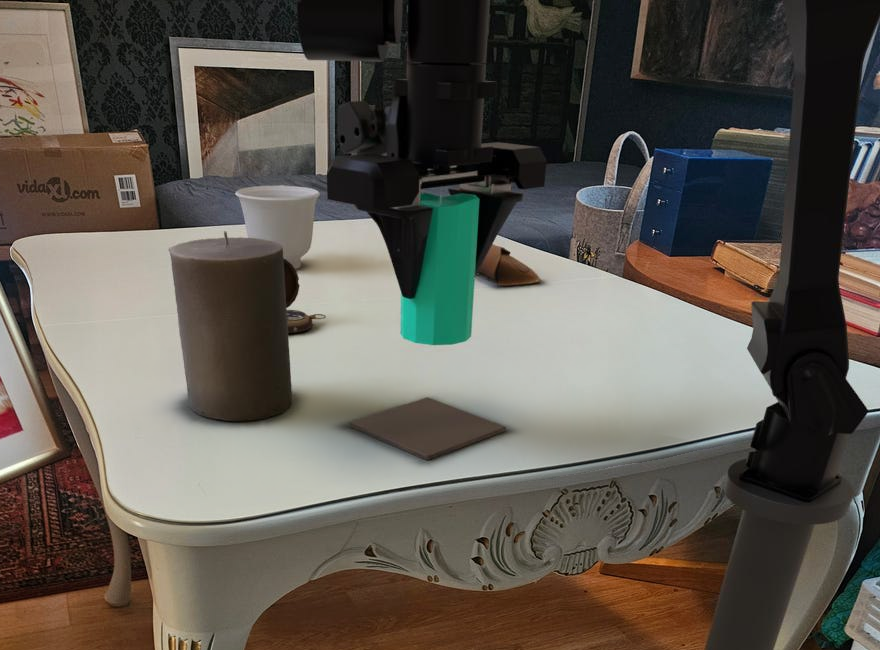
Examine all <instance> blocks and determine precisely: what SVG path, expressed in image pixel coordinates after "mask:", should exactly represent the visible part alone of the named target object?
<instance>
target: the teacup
mask: <svg viewBox="0 0 880 650" xmlns="http://www.w3.org/2000/svg"><path fill="white" fill-rule="evenodd" d="M234 194H235V196H236V197H237V198H238V200H239V202H240V206H241V210H242V214H243V218H244V225H245V230H246V236H247V238H257V239H264V240H269V241H274V242H276V243H278V244H280V245H281V246H282V248H283V258H284V259H286V260H287V261H288V262H290V263H291V264H292V265H293V267H294V268H295V270H297V269H299V268H301V267H302V263H301V258H302V257H303V256H305V255H306V254H308V253H309V251H310V249H311V247H312V241H313V234H314V233H313V232H314V223H315V222H314V219H315V210H316V204H317V200H318V198H319V197H320V195H321V193H320V191H318V190H317V189H314V188H310V187H304V186H297V185H296V186H295V185H294V186H293V185H284V184H283V185H281V184H280V185H257V186H248V187H243V188H240V189H237V190H236V191H235V193H234Z"/></svg>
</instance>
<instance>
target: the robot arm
mask: <svg viewBox="0 0 880 650" xmlns="http://www.w3.org/2000/svg"><path fill="white" fill-rule="evenodd" d="M783 1H784V3H783V4H784V10H785V11H784V15H785V21H786V27H787V33H788V38H789V43H790V48H791V49H790V50H791V53H792V58H793V65H794V77H793V91H792V92H793V93H792V105H791V115H790V117H791V118H790V127H789V128H790V129H789V141H788V153H787V155H788V156H787V167H786V180H785V191H784V192H785V193H784V205H783V218H782V229H781V231H782V232H781V243H780V257H779V269H778V276H777V280H776V283H775V285H774V288H773V290H772V294H771V295H770V298H769V300H768V301H758V300H753V301H751V303H750V305H751V306H750V309H751V311H750V312H751V317H752V333H751V338H750V340H749V343H748V345H747V347H746V349H747V351H748V353H749V355H750V356H751V358H752V360H753V361H754V363H755V365H756V366H757V368H758V370H759V372H760V373H761V375H762V376H763V378H764V380H765V381H766V383H767V386H769V389H770V390H771V394H772V397H775V399H776V400H777V401H776V402H775V403H772V404H771V405H768V406H767V407H766V408H765V411H764V415H763V419H761V420H759V421H757V422H756V424H755V426H754V431H753V434H752V438H751V443H750V449H751V448H752V449H754V451H749V452H747V457H746V459H747V460H746V466H747V467H749V469H747V470H745V471H744V472H742V473H740V477H739V479H740V480H742V481H745V482H748V483H751V484H754V485H756V486H759V487H762V488H765V489H768V490H771V491H774V492H777V493H779V494H782V495H785V496H788V497H791V498H794V499H797V500H799V501H802V502H807V503H810V502H812V501H814V500H815V499H817V498H818V497H820V496H821V495H823V494H825V493H826V492H828V491H829V490H831V489H832V488H834V487H835V486H837V485H838V484H840V483H841V480H842V477H843V476H842V477H840V476H837V475H836V474H838V470H839V467H840V464H841V461H842V459H843V457H844V453H845V450H846V446H847V444H848V441H849V438H850V435H851V434H853V433H855V431H856V429H857V428H858V427H859V425H860V424H861V423H862V421H863V420H864V419H865V418H866V416H867V415H868V413H869V409H868V408H867V406H866V405H865V403H864V402H863V401H862V399H861V398H860V396H859V395H858V394H857V392H856V391H855V390H854V388H853V386H852V385H851V383H850V382H849V381H848V379H847V378H848V377H847V376H848V373H849V369H850V356H849V354H850V353H849V338H848V327H847V320H846V314H845V310H844V309H845V308H844V303H843V298H842V293H841V288H840V281H839V280H840V279H839V278H840V277H839V276H840V270H841V269H840V268H841V261H842V251H843V242H844V234H845V233H844V232H845V224H846V217H847V209H848V208H847V207H848V197H849V191H850V180H851V173H852V163H853V156H854V145H855V137H856V128H857V120H858V111H859V102H860V93H861V86H862V85H861V84H862V76H863V69H864V68H863V67H864V63H865V58H866V55H867V51H868V49H869V47H870V44H871V42H872V39H873V36H874V34H875V32H876V30H877V26H878V24H879V21H880V0H783ZM490 4H491V0H407V28H406V29H407V31H406V32H407V33H406V35H407V36H406V78H396V79H394V85H392V89H391V103H390V105H388V106H385V107H384V108H373V109H372V108H371V106H370V105H369V103H368V102H367V101H366V100H353V101H346V102H344V103H342V104H341V105H339V106H338V108H337V123H336V125H337V126H336V132H337V138H338V143H339V148H340V150H341V152H343V153H344V154H345V155H339V156H335V157H334V158H333V160H332V162H331V163H330V165H329V166H328V169H327V171H326V195H327V196H326V197H327V198H326V199H327V200H329V201H333V202H339V203H344V204H349V205H354V207H355V209H356V210H357V211H362V212H365V213H367V214H368V216H369V217H370V218H371V219H372V220H373V222H374V223H375V224H376V226H377V227H378V229H379V231H380V234H381V236H382V239H383V241H384V243H385V246H386V249H387V252H388V255H389V258H390V262H391V264H392V268H393V271H394V274H395V277H396V281H397V284H398V287H399V290H400V294H401V293H402V296H403V297H404V298H408V299H413V298H415V295H416V291H417V288H418V284H419V280H420V275H421V270H422V265H423V260H424V254H425V249H426V244H427V238H428V234H429V228H430V223H431V218H432V213H433V208H431V207H426V206H421V205H420V194H421V193H422V191H421V190H426V189H434V188H440V187H442V188H443V187H449V186H456V187H451V188H448V189H447V190H448V193H449V196H450V195H456V194H461V193H462V194H472V195H476V196H477V197H478V198H479V216H478V232H477V249H476V265H475V278H476V277H477V275H478V273H479V272H478V271H479V269H480V267H481V265H482V263H483V261H484V259H485V257H486V255H487V253H488V251H489V250H490V248H491V246H492V244H493V245H494V241H495V240H496V238H497V236H498V235H499V233H500V231H501V230H502V228H503V226H504V224H506V221H507V220H508V218H509V216H510V214H511V213H512V211H513V209H514V208H515V206H516V205H517V203H520V202H522V201H523V199H524V194H523V193H520V192H514V191H511V189H512V183H514V184H515V185H516V187H517V189H518V190H531V189H536V188H545V185H546V173H547V166H548V165H547V164H548V160H547V158H546V157H545V155H544V154H543V151H542V150H541V147H540V146H534V145H526V144H525V145H524V144H516V143H507V142H500V141H496V142H485V143H482V138H483V124H484V122H483V121H484V106H485V99H497V90H498V81H492V80H486V72H487V53H488V37H489V23H490V21H489V20H490V7H491V5H490ZM296 15H297V16H296V17H297V29H298V36H299V41H300V47H301V50H302V53H303V56H304V57H305V59H306V60H308V61H327V62H328V61H329V62H330V61H334V62H336V61H337V62H375V63H376V62H377V63H380V62H381V63H382V62H384V61H385V60H386V56H387V52H388V47H389V46H399V45H400V42H401V38H402V29H403V0H296ZM348 154H350V155H348ZM457 185H459V187H457Z"/></svg>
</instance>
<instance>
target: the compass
mask: <svg viewBox="0 0 880 650" xmlns="http://www.w3.org/2000/svg"><path fill="white" fill-rule="evenodd" d="M283 261H284V276H285V292H286V310H287V325H288V334H295V333H296V334H297V333H301V332H305V331H308V330H309V329H310V328H312V326H313V320H323V319H326V318H327V316H326V315H325V314H323V313H313V314H310V315H308V314H306V312H305V311H302V310H299V309H288V308H289V307H291V306H292V305H293V303H294V302H295V301H296V299H297V297H298V295H299V292H300V283H299V280H300V278H299V275H298V271H297V269H295V268H294V267H293V265H292V264H291V263H290V262H288V261H287V260H286V259H284V258H283ZM317 316H320V317H317ZM321 316H322V317H321Z"/></svg>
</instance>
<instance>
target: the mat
mask: <svg viewBox="0 0 880 650" xmlns="http://www.w3.org/2000/svg"><path fill="white" fill-rule="evenodd" d="M348 427H349V428H352V429H354V430H356V431H359V432H360V433H364V434H365V435H368V436H370V437H372V438H374V439H377V440H380V441H382V442H384V443H386V444H388V445H391V446H393V447H394V448H398V449H400V450H402V451H405V452H406V453H409V454H412V455H413V456H416V457H418V458H421V459H422V460H426V461H429V460H432V459H435V458H437V457H439V456H443V455H446V454H448V453H451V452H453V451H456V450H459V449H462V448H464V447H467V446H469V445H472V444H475V443H477V442H480V441H483V440H485V439H488V438H491V437H493V436H496V435H498V434H501V433H504V432H506V431H507V426H505V425H503V424H500V423H497V422H495V421H492V420H489V419H487V418H484V417H481V416H479V415H476V414H473V413H471V412H469V411H465V410H462V409H460V408H458V407H455V406H452V405H449V404H447V403H444V402H442V401H439V400H436V399H433V398H431V397H424V398H420V399H417V400H414V401H411V402H408V403H404V404H401V405H399V406H396V407H392V408H389V409H385V410H383V411H379V412H377V413H374V414H370V415H367V416H363V417H361V418H357V419H354V420H352V421H348Z"/></svg>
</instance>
